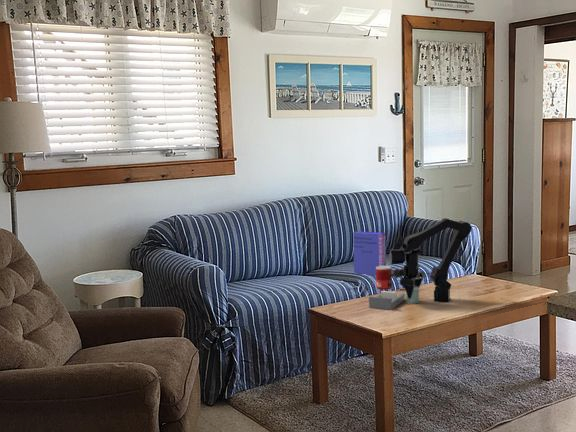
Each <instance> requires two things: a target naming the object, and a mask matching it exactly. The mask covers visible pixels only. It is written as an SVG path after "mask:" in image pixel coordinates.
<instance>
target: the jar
mask: <svg viewBox="0 0 576 432" xmlns="http://www.w3.org/2000/svg"><path fill="white" fill-rule="evenodd" d="M405 303H406V304H410V305H415V304H419V303H420V287H418V286H415V287H414V290H413V293H412V296H411V298H408V296H407V293H406V292H405Z"/></svg>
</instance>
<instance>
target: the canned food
mask: <svg viewBox="0 0 576 432" xmlns="http://www.w3.org/2000/svg"><path fill="white" fill-rule="evenodd" d="M392 269H393V268H392V266H389V265H386V266H377V267H376V276H375V285H376V289H377V290H381V291H389V290H391V289H392V287H393V279H392V278H393V274H392Z"/></svg>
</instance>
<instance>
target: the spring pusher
mask: <svg viewBox="0 0 576 432" xmlns="http://www.w3.org/2000/svg"><path fill="white" fill-rule="evenodd" d="M380 294H381V297H382V298H392V300H394V299H395V298H397V297H398V291H396V292H395V291H388V290H381V291H380Z"/></svg>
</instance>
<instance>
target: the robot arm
mask: <svg viewBox="0 0 576 432" xmlns="http://www.w3.org/2000/svg"><path fill="white" fill-rule="evenodd" d="M446 229H452V238H451V240H450V243H449V245H448V246H447V248H446V250H445V253H444V255H443V257H442V258H441V261H440V263H438V265H437V266H433V267H432V270H431V272H429V275H430V276H429V277H430V279H429V280H430V281H431V282H432V283H433V284H434V286H435V287H434V290H433V301H434V302H439V303H440V302H442V303H449V301H451V299H452V298H451V287H452V284H451V283H450V282H449V281H448V277H449V276H448V275H449V268H450V267H451V265H452V262H453V260H454V258H455V257H456V254H457V252H458V250H459V248H460V247H461V244H462V243H463V241H464V240H466V239H467V238H468V236H469V235H470V233H471V232H472V229H473V228H472V225H471V223H469V222H467V221H465V220H458V221H455V220H453V219H449V218H446V217H444V218H442V219H441V220H439V221H437V222H436V223H434V224H432V225H430V226H429V227H427V228H425V229H423V230H422V231H419V232H416V233H415V232H414V233H413V234H410V235H407V236H405V237H404V241H403V244H402V245H401V246H400V248H399V249H390V250H389V254H388V255H389V256H388V261H389V265H403V264H404V263H405V265H404V266H403V268H400V269H399V268H396V269H394V270H393V274H392V277H393V276H394V278H395V279H398V278H400V277H401V278H400V279H399V285H401V287H404V289H405V294H406V293H407V296H408V298H411V296H412V293H413V290H414V287H415V286H418V287H419V288H420V287H421V284H422V282H423V280H424V278H425V273H424V272H423V271H421V270H419V268H420V264H419V254H423V253H424V252H423V251H422V250H421V249H420V248H419V247H420V246H422V245H423V244H424V243H425V241H427V240H428V239H430V238H432V237H433V236H436V235H437V234H440V232H443V231H444V230H446Z"/></svg>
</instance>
